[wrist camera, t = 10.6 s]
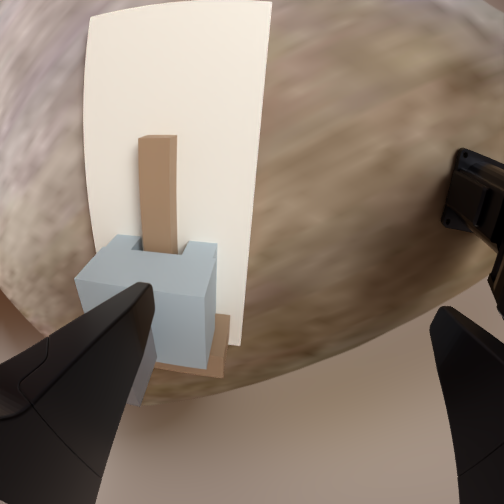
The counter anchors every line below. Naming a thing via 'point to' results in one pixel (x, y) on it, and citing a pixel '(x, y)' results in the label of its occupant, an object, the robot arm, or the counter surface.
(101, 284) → the cabinet block
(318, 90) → the counter surface
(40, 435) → the robot arm
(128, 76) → the mounting board
